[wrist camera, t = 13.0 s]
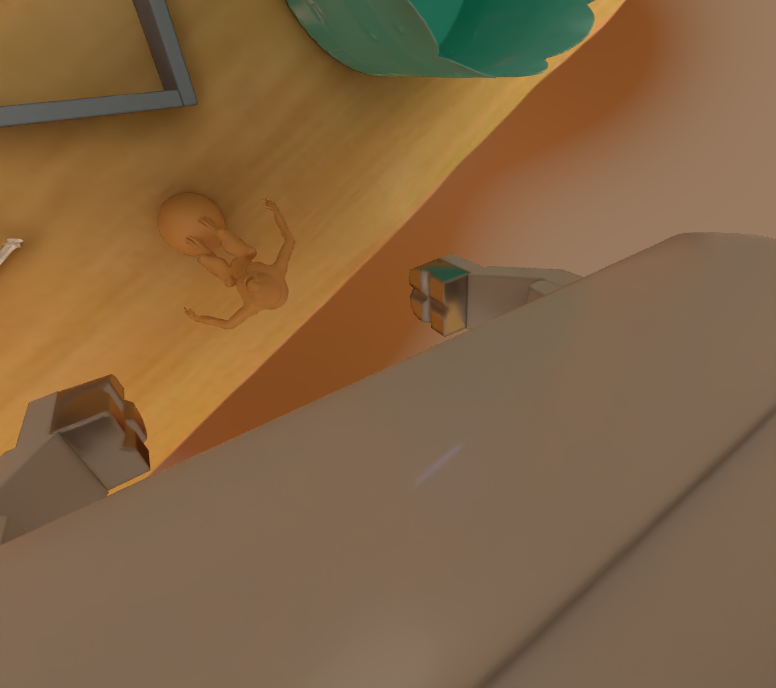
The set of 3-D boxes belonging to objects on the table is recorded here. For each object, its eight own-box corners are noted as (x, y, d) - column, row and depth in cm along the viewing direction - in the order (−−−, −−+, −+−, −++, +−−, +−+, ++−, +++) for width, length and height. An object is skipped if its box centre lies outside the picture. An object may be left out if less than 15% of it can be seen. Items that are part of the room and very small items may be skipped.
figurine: (195, 148, 25) (241, 165, 16) (270, 208, 29) (338, 247, 20) (123, 251, 25) (130, 321, 17) (207, 296, 29) (248, 372, 21)
